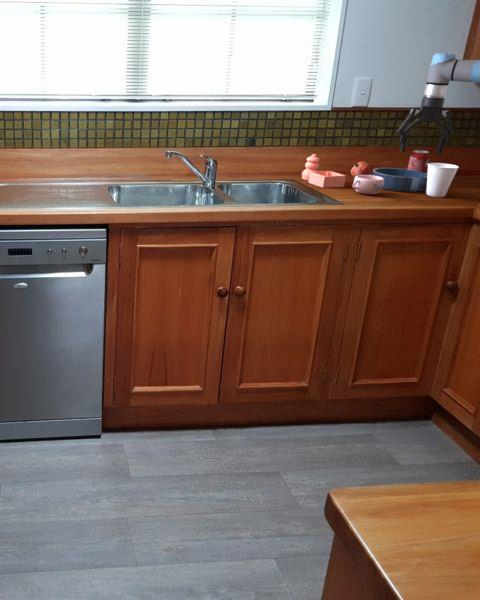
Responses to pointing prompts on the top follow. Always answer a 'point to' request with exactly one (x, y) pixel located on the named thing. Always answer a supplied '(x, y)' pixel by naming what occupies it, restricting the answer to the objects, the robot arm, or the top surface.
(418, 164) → the soda can
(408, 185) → the bowl
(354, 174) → the pomegranate
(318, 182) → the pottery
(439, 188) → the cup
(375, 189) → the mug
